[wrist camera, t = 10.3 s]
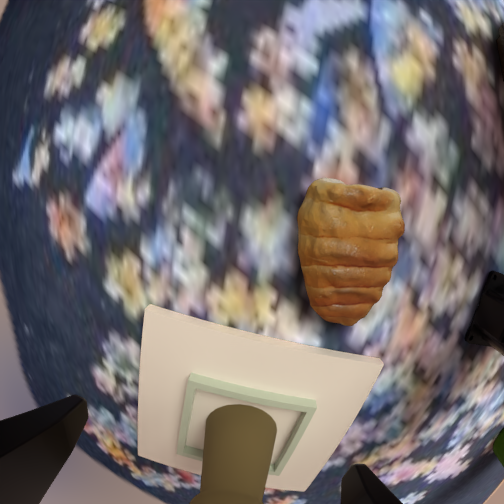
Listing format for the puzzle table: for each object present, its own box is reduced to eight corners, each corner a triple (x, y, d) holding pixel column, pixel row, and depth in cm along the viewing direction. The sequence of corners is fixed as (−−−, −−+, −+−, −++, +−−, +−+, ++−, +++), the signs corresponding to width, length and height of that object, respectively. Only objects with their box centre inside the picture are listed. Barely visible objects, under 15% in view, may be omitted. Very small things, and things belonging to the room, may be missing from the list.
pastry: (378, 316, 20) (396, 339, 16) (288, 313, 20) (290, 338, 17) (394, 186, 18) (419, 185, 14) (298, 176, 19) (304, 172, 15)
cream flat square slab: (380, 358, 20) (388, 371, 18) (304, 484, 24) (305, 498, 22) (150, 304, 21) (139, 314, 19) (141, 449, 24) (134, 461, 22)
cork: (235, 457, 22) (219, 555, 11) (190, 420, 22) (154, 524, 11) (291, 434, 21) (295, 544, 10) (247, 393, 21) (230, 515, 10)
